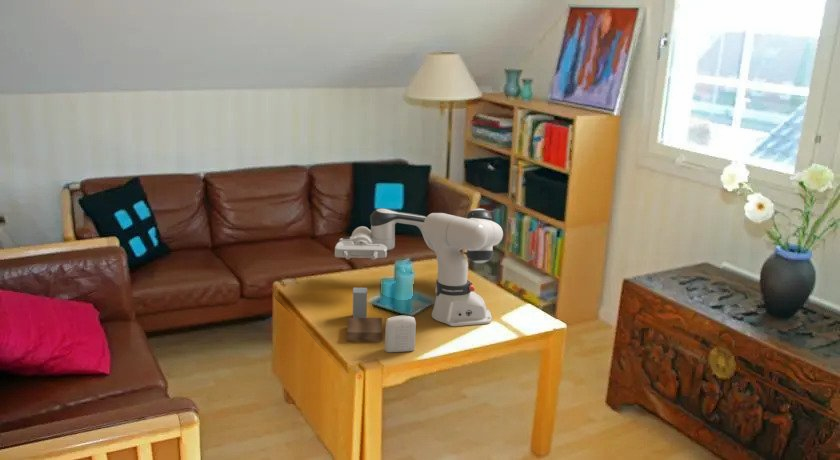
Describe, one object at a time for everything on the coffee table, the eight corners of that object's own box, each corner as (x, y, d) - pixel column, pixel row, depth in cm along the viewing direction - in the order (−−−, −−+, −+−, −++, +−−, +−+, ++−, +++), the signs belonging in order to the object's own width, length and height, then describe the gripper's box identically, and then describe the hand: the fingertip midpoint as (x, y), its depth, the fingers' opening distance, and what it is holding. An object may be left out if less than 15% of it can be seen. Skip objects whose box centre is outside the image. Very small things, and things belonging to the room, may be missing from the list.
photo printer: (413, 346, 249) (414, 312, 245) (416, 351, 245) (417, 317, 241) (383, 348, 246) (384, 314, 243) (386, 353, 242) (386, 319, 239)
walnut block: (381, 328, 262) (381, 318, 261) (382, 343, 251) (382, 332, 250) (348, 328, 262) (348, 317, 260) (347, 342, 250) (347, 332, 249)
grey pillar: (366, 315, 272) (367, 287, 269) (366, 320, 267) (366, 292, 264) (353, 315, 272) (353, 287, 268) (352, 320, 267) (353, 292, 264)
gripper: (387, 254, 291) (387, 265, 277) (335, 253, 289) (333, 265, 276) (387, 239, 289) (388, 250, 276) (335, 238, 287) (333, 249, 274)
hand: (360, 257), depth 276 cm, fingers open, 8 cm apart
